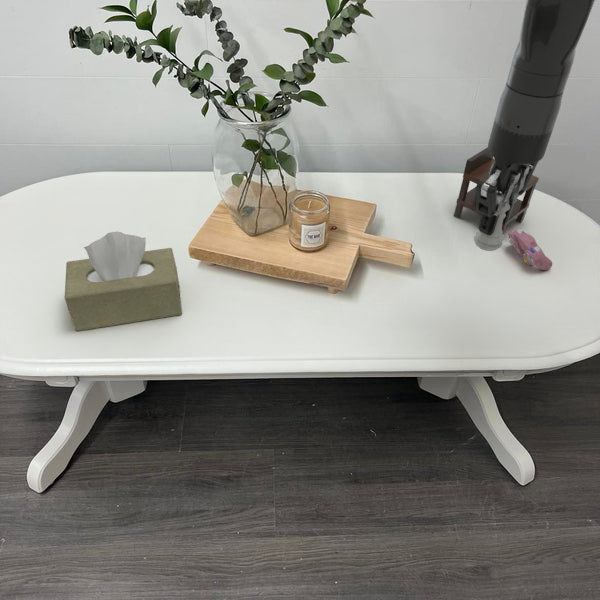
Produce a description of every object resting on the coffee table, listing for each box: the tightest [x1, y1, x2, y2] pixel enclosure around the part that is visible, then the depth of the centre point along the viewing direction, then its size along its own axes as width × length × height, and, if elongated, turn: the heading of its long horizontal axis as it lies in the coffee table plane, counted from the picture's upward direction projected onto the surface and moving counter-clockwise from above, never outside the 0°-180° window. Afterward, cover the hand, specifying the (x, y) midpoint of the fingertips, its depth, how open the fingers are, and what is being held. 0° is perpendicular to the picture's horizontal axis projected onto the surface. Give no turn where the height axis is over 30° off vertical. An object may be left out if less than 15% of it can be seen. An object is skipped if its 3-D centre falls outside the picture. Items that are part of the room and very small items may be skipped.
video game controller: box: [507, 228, 553, 271], centre depth 115 cm, size 10×5×7 cm, turn 17°
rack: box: [453, 146, 540, 236], centre depth 123 cm, size 12×10×14 cm
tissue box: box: [64, 230, 183, 332], centre depth 99 cm, size 19×10×16 cm, turn 105°
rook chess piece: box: [473, 200, 510, 252], centre depth 87 cm, size 4×4×8 cm
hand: (492, 226), depth 87 cm, fingers closed on rook chess piece, 3 cm apart
